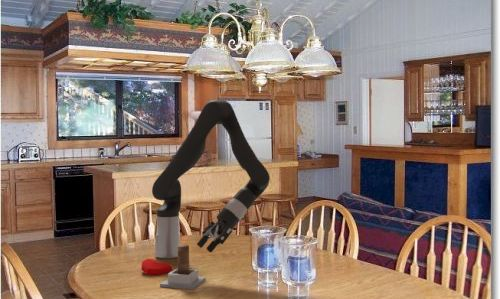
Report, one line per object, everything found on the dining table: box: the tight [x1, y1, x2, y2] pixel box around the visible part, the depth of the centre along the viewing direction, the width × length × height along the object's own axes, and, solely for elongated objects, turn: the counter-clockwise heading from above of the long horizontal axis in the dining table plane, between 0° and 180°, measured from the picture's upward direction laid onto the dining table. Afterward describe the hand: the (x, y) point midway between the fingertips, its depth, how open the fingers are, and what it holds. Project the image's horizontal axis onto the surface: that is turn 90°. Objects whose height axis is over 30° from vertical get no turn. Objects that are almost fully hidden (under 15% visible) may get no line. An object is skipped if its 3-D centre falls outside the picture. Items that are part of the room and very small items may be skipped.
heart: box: [140, 258, 173, 276], centre depth 204 cm, size 12×4×10 cm
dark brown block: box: [176, 244, 190, 275], centre depth 190 cm, size 4×4×12 cm
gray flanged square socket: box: [159, 267, 207, 290], centre depth 190 cm, size 12×12×4 cm
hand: (203, 248), depth 193 cm, fingers open, 8 cm apart
